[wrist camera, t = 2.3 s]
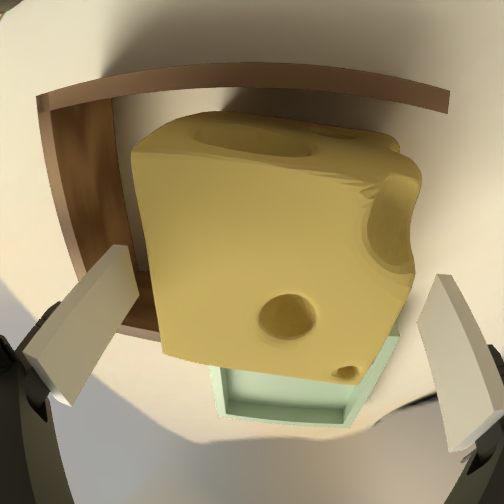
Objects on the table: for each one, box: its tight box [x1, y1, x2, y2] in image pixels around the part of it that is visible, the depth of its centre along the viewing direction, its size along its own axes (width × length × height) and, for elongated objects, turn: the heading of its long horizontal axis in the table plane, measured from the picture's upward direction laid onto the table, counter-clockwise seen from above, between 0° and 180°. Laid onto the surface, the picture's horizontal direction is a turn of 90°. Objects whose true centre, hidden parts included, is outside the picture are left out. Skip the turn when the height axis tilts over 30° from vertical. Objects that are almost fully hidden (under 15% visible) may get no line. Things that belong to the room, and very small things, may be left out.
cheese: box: [131, 111, 422, 385], centre depth 15 cm, size 10×11×10 cm
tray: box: [209, 322, 400, 428], centre depth 27 cm, size 16×15×2 cm
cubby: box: [36, 62, 450, 365], centre depth 17 cm, size 16×19×6 cm
